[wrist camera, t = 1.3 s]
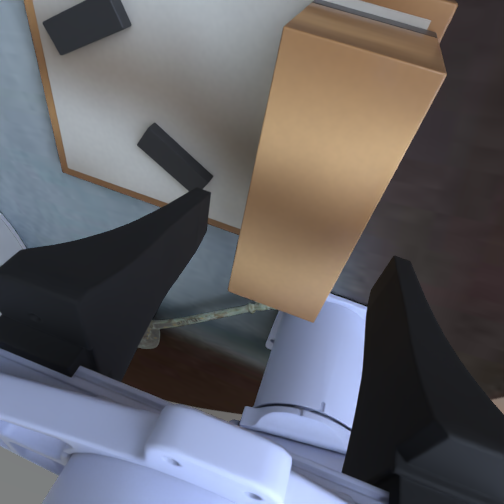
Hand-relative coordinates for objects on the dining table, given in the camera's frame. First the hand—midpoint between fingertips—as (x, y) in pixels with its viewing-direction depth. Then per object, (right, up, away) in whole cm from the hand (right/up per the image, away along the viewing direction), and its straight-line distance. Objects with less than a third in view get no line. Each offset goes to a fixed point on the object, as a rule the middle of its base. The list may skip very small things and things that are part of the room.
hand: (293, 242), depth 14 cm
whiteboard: (-4, +8, +6) cm, 11 cm away
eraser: (+2, +5, +5) cm, 7 cm away
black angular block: (-6, +5, +8) cm, 11 cm away
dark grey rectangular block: (-10, +11, +4) cm, 15 cm away
